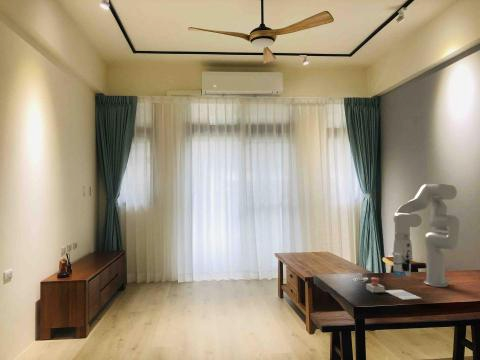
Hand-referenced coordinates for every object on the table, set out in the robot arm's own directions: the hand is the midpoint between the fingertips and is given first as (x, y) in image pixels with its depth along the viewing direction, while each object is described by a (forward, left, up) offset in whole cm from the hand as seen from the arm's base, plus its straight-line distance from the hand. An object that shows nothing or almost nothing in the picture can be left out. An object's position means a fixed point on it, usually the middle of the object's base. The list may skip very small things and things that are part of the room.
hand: (402, 269), depth 193 cm
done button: (+10, -10, -12) cm, 18 cm away
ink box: (0, 0, -3) cm, 3 cm away
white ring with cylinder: (+6, -30, -14) cm, 34 cm away
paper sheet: (0, 0, -14) cm, 14 cm away
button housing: (+10, -10, -14) cm, 20 cm away
